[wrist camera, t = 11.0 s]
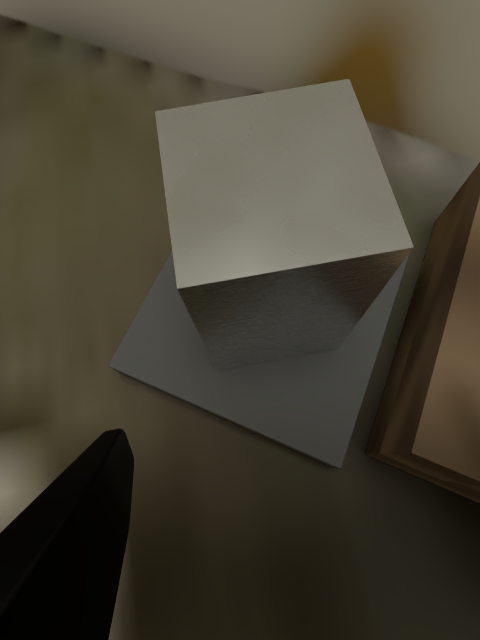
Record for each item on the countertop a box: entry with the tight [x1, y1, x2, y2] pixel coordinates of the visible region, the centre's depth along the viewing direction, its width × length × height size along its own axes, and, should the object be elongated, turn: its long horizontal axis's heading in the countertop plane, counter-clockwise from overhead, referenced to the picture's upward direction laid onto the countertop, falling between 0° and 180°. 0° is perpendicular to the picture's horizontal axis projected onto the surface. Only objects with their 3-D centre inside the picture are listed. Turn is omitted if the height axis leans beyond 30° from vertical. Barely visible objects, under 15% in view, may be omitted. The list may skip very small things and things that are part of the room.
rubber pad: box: [108, 251, 410, 469], centre depth 17 cm, size 10×10×2 cm
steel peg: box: [155, 79, 414, 371], centre depth 12 cm, size 5×5×8 cm
